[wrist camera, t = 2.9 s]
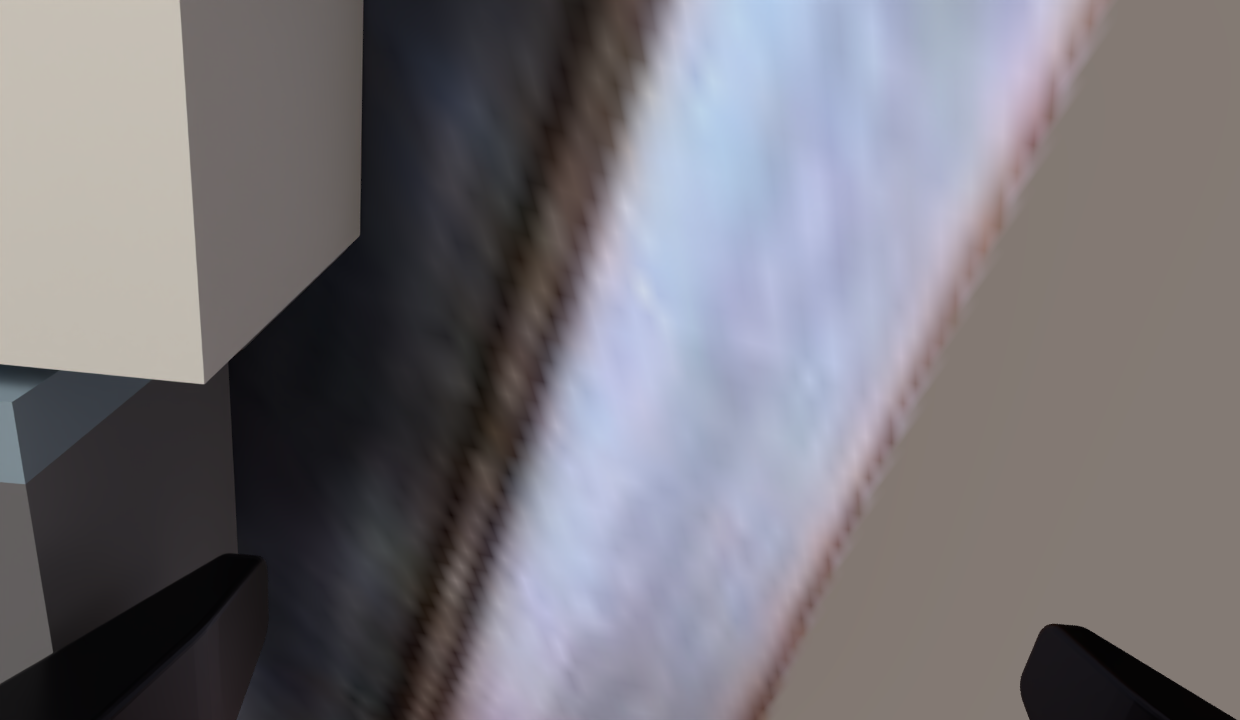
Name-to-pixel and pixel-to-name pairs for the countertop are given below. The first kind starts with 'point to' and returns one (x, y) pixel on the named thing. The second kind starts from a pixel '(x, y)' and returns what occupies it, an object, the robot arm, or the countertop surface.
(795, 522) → the countertop surface
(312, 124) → the camera housing
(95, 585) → the grey l-shaped block
